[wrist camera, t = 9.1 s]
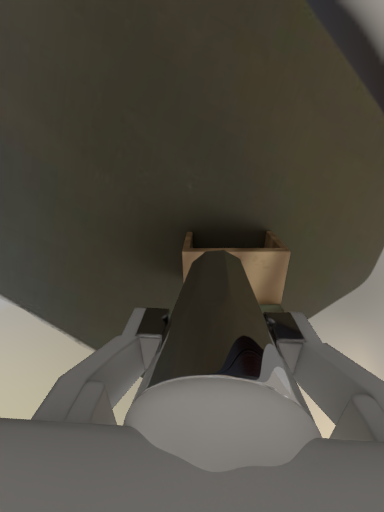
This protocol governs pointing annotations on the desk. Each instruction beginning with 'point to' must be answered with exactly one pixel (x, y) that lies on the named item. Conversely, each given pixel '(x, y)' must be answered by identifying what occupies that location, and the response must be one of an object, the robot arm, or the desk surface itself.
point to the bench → (253, 267)
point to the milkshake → (221, 378)
